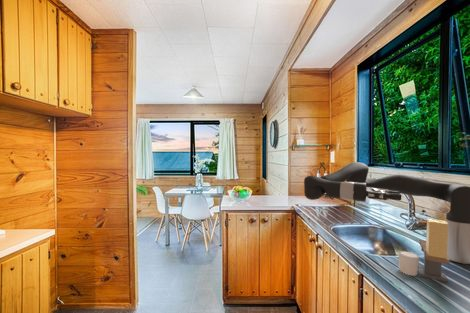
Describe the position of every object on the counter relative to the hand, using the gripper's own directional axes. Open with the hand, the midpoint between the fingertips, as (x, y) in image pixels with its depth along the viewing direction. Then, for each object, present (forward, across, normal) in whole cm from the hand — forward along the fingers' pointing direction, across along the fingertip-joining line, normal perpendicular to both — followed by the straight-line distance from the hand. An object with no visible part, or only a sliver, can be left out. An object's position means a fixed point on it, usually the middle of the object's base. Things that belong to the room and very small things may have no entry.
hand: (400, 195), depth 92 cm
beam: (+11, -7, -20) cm, 24 cm away
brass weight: (+11, 0, -20) cm, 23 cm away
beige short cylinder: (+4, -6, -30) cm, 31 cm away
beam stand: (+11, -7, -30) cm, 33 cm away
